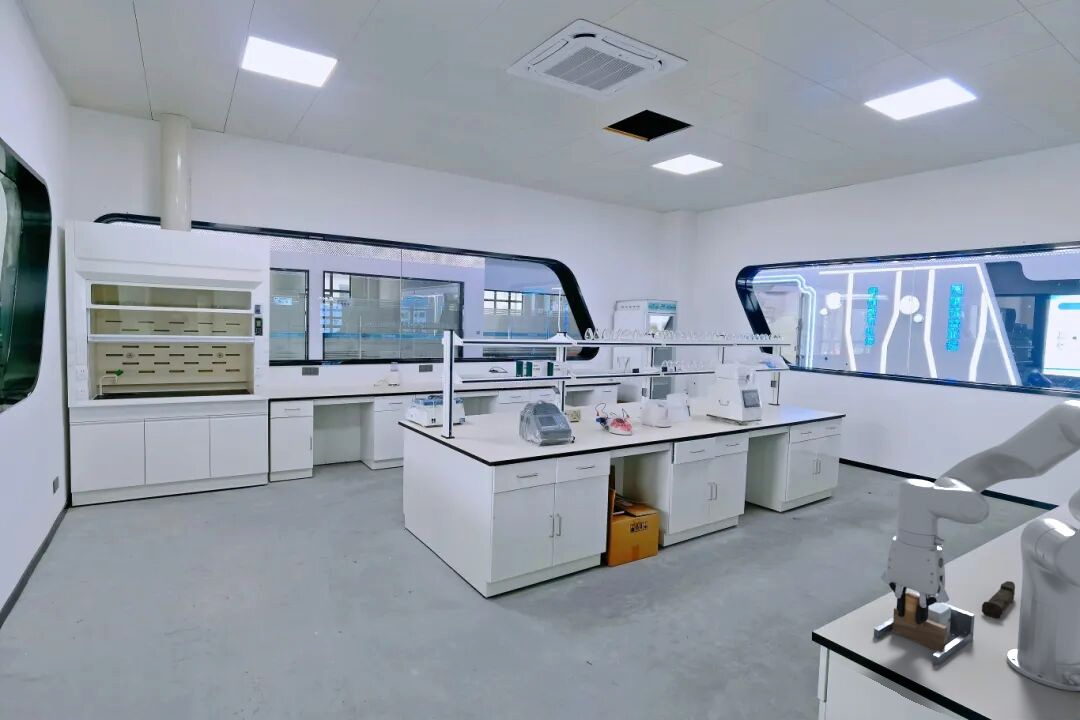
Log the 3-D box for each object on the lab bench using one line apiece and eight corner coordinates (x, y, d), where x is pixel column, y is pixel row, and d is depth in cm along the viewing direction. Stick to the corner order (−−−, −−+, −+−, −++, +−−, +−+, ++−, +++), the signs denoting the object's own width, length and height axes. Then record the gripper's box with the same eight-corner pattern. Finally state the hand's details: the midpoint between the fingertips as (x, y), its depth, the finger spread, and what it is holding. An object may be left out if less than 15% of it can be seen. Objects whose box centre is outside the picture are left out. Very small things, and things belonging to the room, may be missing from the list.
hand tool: (1001, 622, 133) (1002, 603, 133) (980, 615, 136) (982, 597, 136) (1024, 601, 144) (1026, 583, 144) (1005, 594, 147) (1006, 577, 147)
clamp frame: (937, 666, 115) (939, 638, 114) (873, 636, 125) (875, 611, 125) (972, 640, 125) (974, 614, 124) (910, 615, 135) (912, 591, 135)
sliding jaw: (933, 660, 117) (936, 607, 116) (882, 637, 125) (885, 588, 124) (945, 651, 120) (948, 599, 119) (895, 629, 128) (898, 581, 127)
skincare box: (938, 645, 122) (940, 613, 122) (908, 632, 127) (910, 602, 127) (950, 637, 126) (952, 606, 125) (920, 625, 131) (921, 595, 130)
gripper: (968, 546, 115) (962, 631, 116) (884, 522, 129) (880, 598, 130) (953, 554, 111) (947, 641, 112) (868, 528, 125) (864, 607, 126)
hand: (911, 617), depth 121 cm, fingers closed on sliding jaw, 2 cm apart
